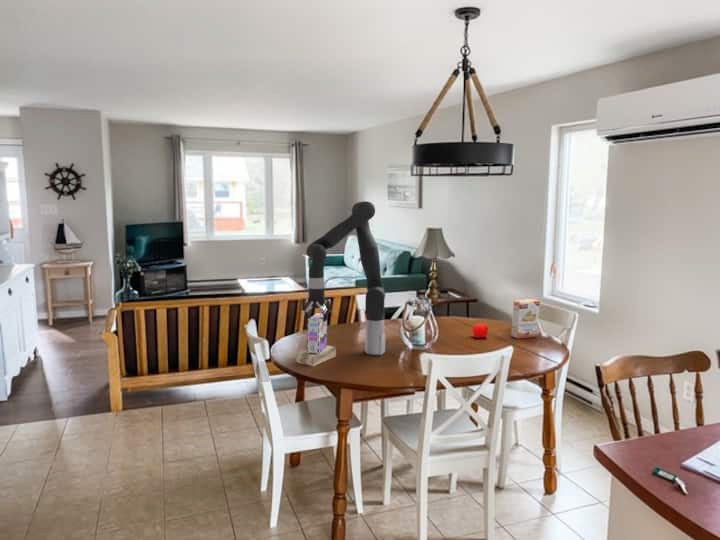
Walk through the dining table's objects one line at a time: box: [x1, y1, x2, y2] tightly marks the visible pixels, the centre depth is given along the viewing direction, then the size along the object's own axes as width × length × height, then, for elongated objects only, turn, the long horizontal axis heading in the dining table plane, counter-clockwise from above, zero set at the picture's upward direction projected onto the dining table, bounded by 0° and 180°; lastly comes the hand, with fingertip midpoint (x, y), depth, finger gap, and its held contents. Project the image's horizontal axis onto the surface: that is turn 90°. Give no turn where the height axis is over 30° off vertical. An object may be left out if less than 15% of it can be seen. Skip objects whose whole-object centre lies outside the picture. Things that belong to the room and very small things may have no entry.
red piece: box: [471, 323, 489, 339], centre depth 288 cm, size 8×8×8 cm
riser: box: [295, 345, 337, 367], centre depth 246 cm, size 10×18×5 cm, turn 148°
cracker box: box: [510, 298, 541, 340], centre depth 290 cm, size 14×6×21 cm, turn 111°
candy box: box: [306, 312, 328, 354], centre depth 245 cm, size 14×6×16 cm, turn 167°
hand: (316, 320), depth 244 cm, fingers open, 8 cm apart
